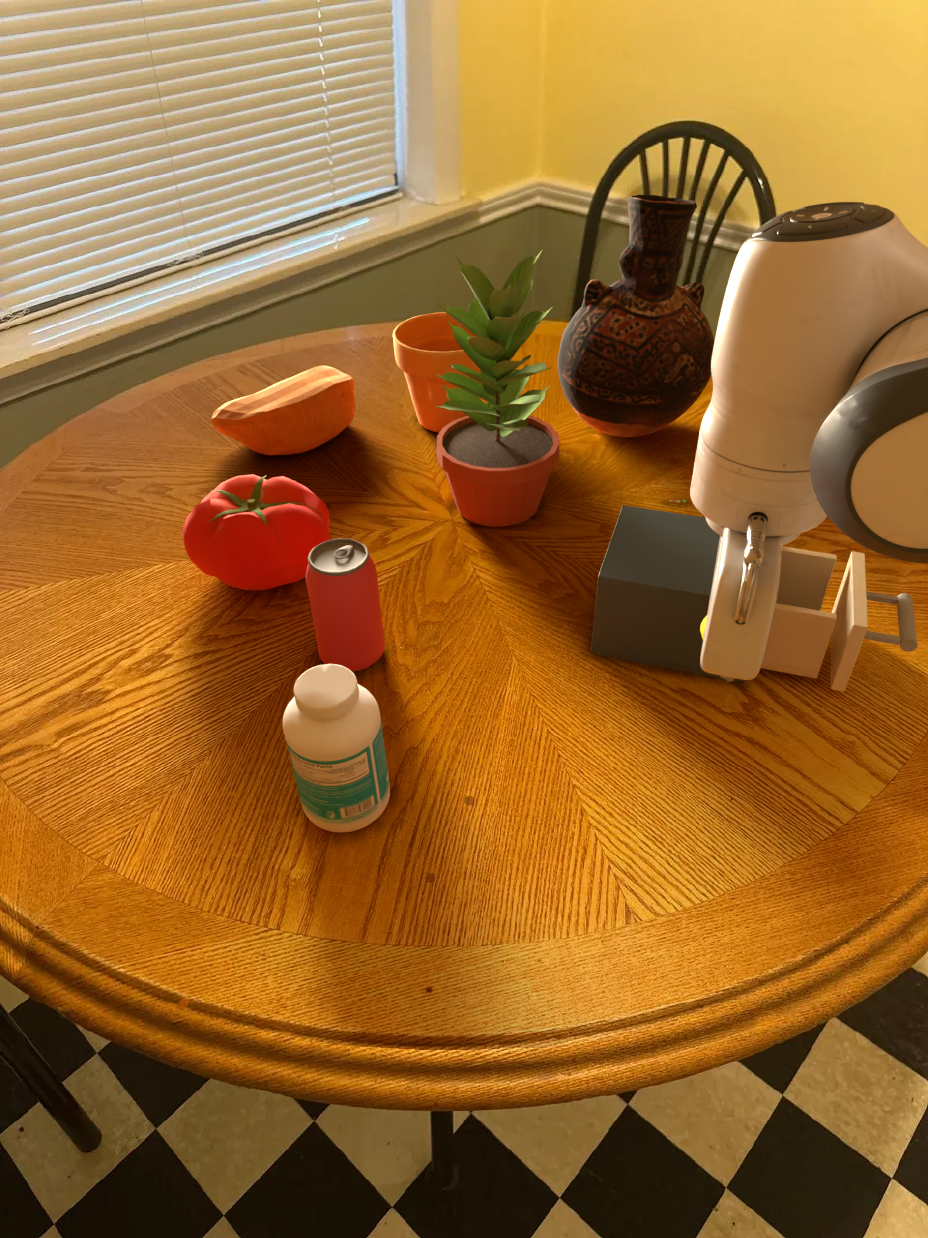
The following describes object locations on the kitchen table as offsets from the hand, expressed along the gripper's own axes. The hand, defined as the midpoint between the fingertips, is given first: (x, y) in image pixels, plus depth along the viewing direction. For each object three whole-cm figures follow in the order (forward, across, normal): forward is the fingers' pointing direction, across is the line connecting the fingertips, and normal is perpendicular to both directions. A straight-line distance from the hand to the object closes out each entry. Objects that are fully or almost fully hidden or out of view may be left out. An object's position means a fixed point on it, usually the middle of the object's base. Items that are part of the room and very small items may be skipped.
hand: (726, 639), depth 64 cm
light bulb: (+2, 0, 0) cm, 2 cm away
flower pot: (+14, +55, +41) cm, 70 cm away
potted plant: (+15, +35, +28) cm, 47 cm away
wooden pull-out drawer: (+14, +18, -8) cm, 24 cm away
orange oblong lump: (+14, +44, +61) cm, 77 cm away
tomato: (+15, +15, +49) cm, 54 cm away
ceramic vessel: (+15, +60, +16) cm, 64 cm away
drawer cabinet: (+15, +18, +4) cm, 23 cm away
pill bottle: (+15, -12, +28) cm, 33 cm away
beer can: (+15, +5, +34) cm, 38 cm away
